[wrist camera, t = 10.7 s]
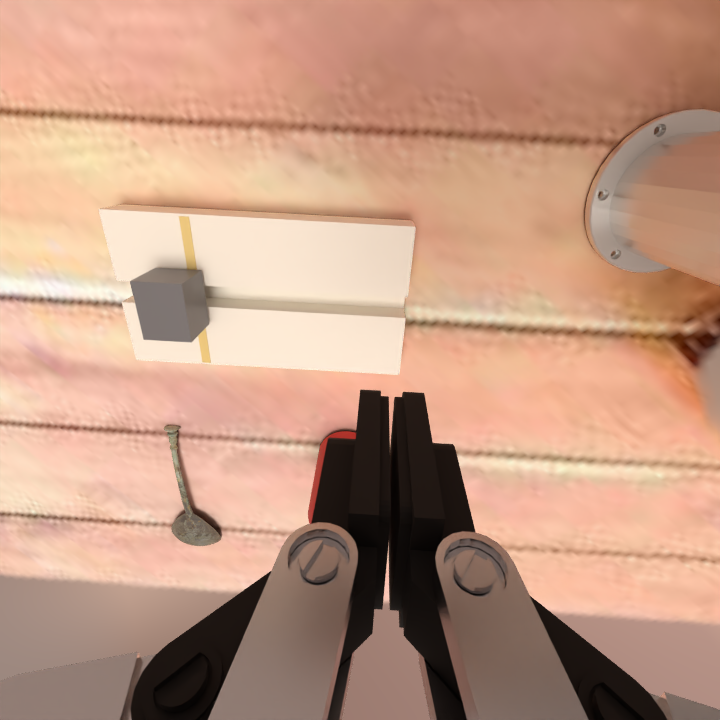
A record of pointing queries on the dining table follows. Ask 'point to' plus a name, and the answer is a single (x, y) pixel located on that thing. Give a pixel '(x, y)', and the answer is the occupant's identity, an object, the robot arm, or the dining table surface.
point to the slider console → (273, 284)
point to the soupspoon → (188, 507)
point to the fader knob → (170, 304)
